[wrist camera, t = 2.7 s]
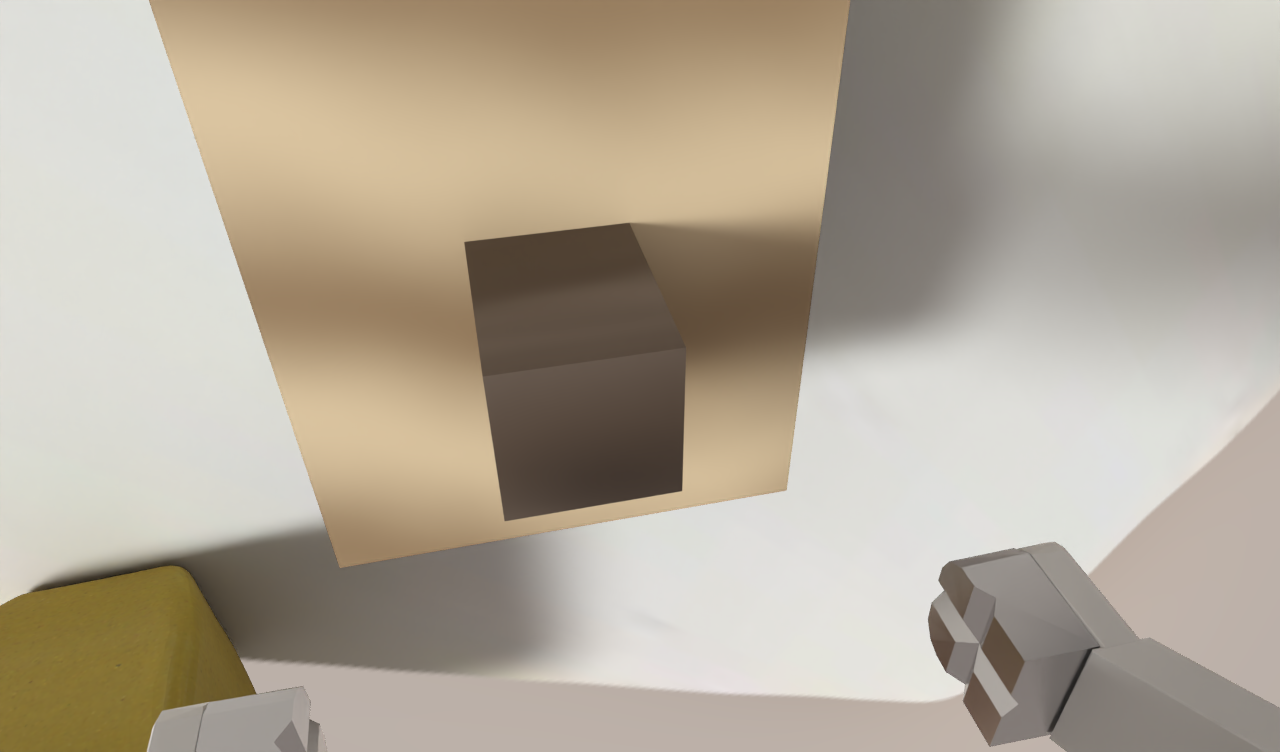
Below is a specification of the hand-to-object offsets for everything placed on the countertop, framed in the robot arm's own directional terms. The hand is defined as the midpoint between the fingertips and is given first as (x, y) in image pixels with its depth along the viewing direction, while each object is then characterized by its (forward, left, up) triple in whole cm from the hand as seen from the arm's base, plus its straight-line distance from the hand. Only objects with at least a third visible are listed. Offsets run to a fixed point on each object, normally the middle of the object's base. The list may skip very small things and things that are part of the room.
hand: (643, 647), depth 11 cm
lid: (0, 0, -10) cm, 10 cm away
